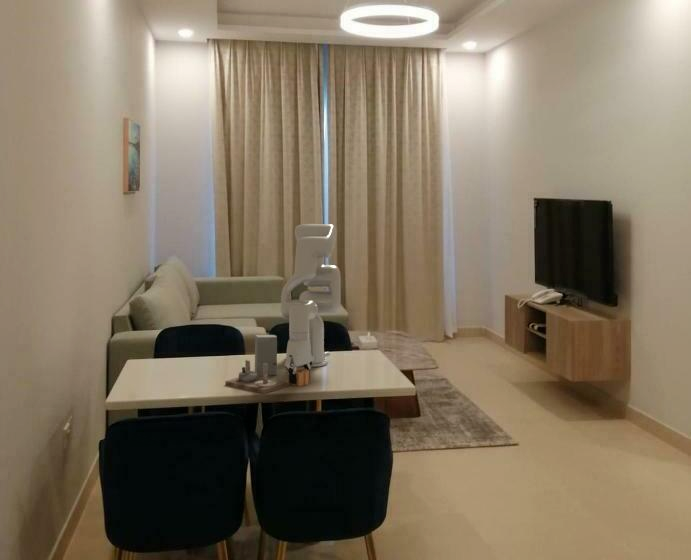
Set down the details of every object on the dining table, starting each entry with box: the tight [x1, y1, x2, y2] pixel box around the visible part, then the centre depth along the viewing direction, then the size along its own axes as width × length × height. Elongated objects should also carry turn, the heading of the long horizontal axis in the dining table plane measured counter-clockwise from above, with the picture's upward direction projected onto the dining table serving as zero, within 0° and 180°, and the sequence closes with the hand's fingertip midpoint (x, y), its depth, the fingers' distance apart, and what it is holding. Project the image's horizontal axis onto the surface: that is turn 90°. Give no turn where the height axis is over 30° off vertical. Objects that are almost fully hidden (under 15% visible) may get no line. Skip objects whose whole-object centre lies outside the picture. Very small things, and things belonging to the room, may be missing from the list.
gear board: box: [224, 359, 289, 394], centre depth 260 cm, size 20×13×9 cm, turn 54°
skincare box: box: [254, 334, 278, 377], centre depth 277 cm, size 8×7×16 cm
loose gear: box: [289, 367, 310, 387], centre depth 263 cm, size 7×7×5 cm
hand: (299, 381), depth 263 cm, fingers closed on loose gear, 7 cm apart
